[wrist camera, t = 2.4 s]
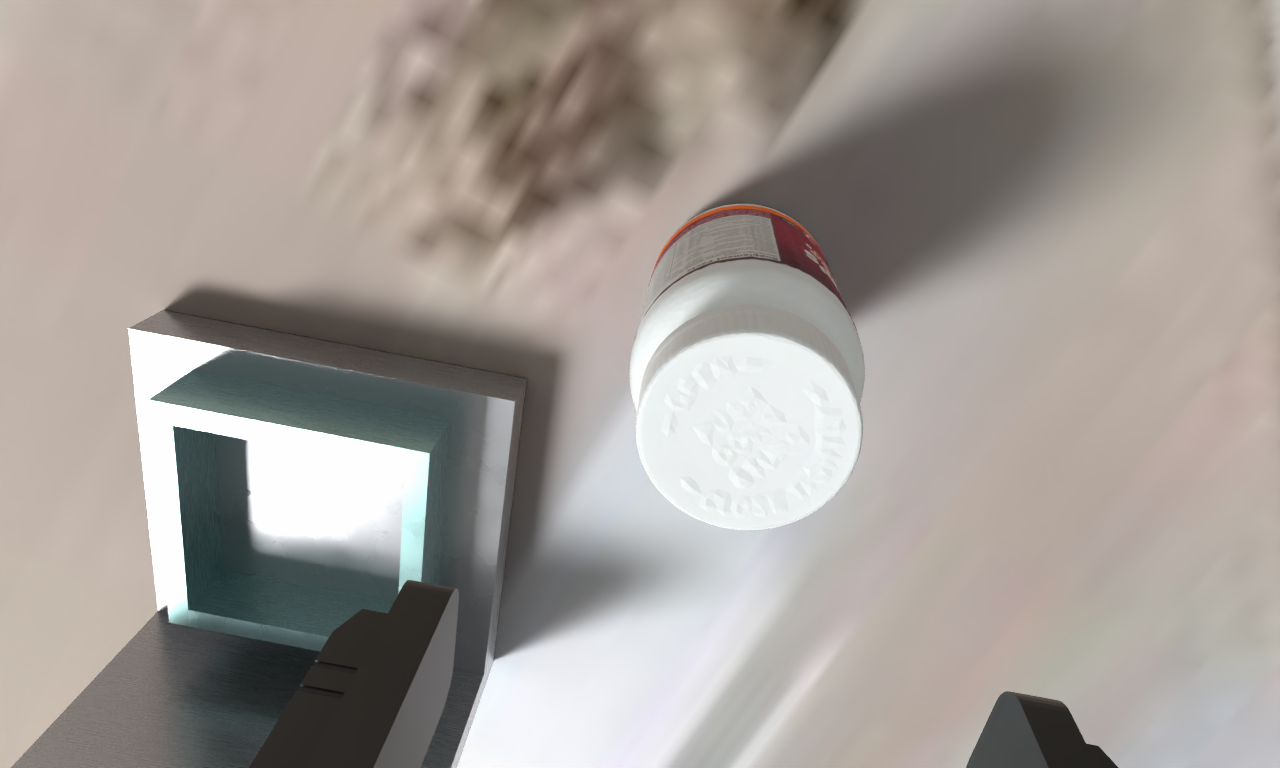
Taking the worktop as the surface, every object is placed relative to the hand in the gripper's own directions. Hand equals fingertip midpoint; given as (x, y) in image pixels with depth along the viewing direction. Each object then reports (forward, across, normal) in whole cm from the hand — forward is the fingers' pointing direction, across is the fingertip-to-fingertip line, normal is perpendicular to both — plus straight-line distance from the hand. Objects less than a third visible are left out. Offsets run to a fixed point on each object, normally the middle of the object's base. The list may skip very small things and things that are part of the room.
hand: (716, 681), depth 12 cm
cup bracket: (+18, +13, +12) cm, 26 cm away
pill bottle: (+19, -1, 0) cm, 19 cm away
